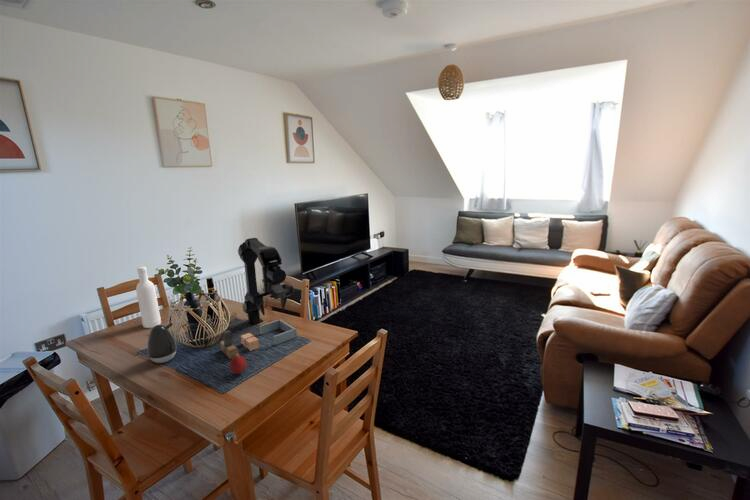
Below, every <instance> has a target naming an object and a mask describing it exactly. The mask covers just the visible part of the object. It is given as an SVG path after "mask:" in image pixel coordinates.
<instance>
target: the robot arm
mask: <svg viewBox="0 0 750 500" xmlns="http://www.w3.org/2000/svg"><path fill="white" fill-rule="evenodd" d="M237 253H238V256H239V259H241V261H242V263H244V264H243V266H244V274H245V282H246V291H247V292H246V293H245V296H244V298H243V299H244V301H243V304H242V311H243V312H244V313H245V314H247V319H246V320H245V322H246V323H247V324H248V325H250V326H252V325H256V324H259V323H261V322H264V320H263V319H262V318H261V314H262V315H263V316H265V304H264V303H265V301H264V298H267V297H270V296H272V297H273V299H275V300H279V299H280V305H281V308H282V310H284V309H285V308H286V307H285V306H286V304H287V300H288V297H290V296H291V295H292V293H295V287H294V286H293V285H291V284H289V283H285V284H282V283H283V282H285V281H286V278H287V273H286V271H285V270H283V269H282V268H281V265H283V263H282V258H281V256H280V253H279V252H278V250H277V249H276V248H275V247H274V246H269V245H268V246H267V245H265V244H263V243H262V242H261V241H260V240H259V239H258V237H250V238H247V239H245V240H244V242H242V243H240V244H239V246H238V249H237ZM257 260H258V261H259V263H260V265H261V270H262V279H261V282H262V283H263V288H262V291H263V292H262V293H260V292H258V282H257V273H256V261H257ZM260 313H261V314H260Z"/></svg>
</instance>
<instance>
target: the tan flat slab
mask: <svg viewBox="0 0 750 500" xmlns="http://www.w3.org/2000/svg"><path fill="white" fill-rule="evenodd" d="M231 313H232V314H231V321H230V323H232V322H233V321H234V320H235V319H237V318H238V316H237V315H238V314H237V313H238V312H237V311H233V312H231Z"/></svg>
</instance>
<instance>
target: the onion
mask: <svg viewBox="0 0 750 500" xmlns="http://www.w3.org/2000/svg"><path fill="white" fill-rule="evenodd" d="M230 360H231V359H230ZM247 365H248V362H247V360H246V359H245V357H243V356H242V355H240V354H239V353H238V354H237V355H236V356H235V357H234V358H233V359H232V360H231V361H230V362H229V368H230V371H231V372H232V373H234V374H241V373H243V372H244V371H245V370H246V369H247Z"/></svg>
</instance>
